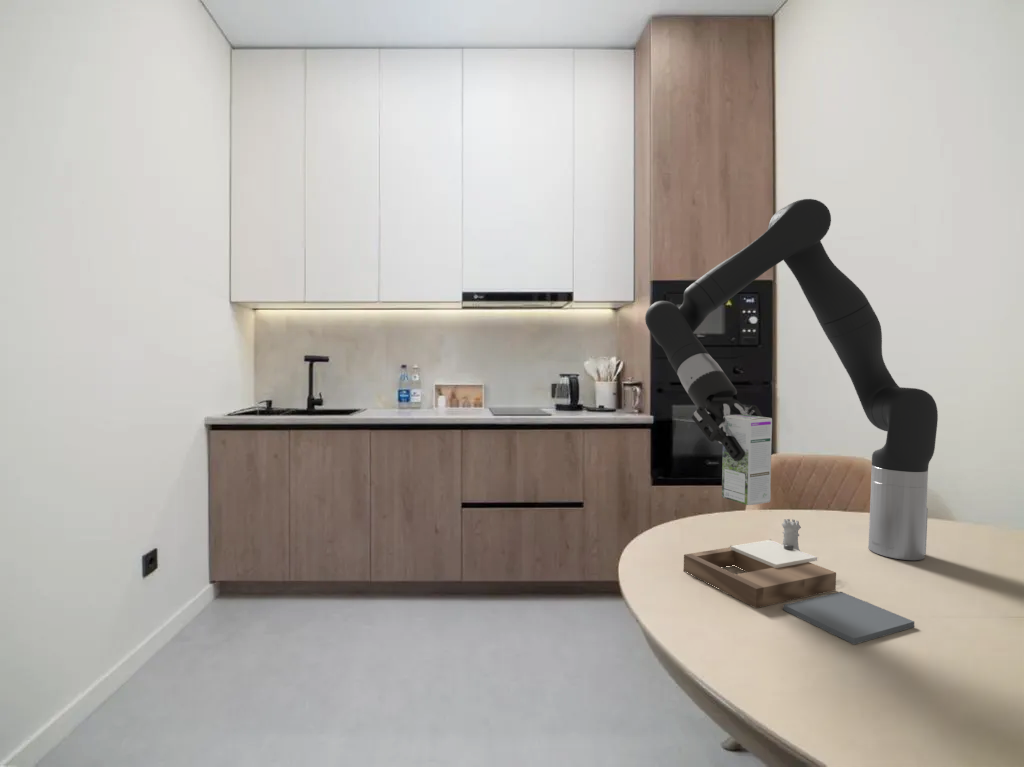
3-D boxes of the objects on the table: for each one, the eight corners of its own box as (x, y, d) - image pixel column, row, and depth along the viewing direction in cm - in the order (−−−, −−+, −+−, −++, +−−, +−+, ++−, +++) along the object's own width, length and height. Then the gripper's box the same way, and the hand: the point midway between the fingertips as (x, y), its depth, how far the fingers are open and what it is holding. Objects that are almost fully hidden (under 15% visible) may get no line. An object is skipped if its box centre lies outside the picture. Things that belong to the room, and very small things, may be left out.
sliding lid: (769, 542, 105) (769, 536, 105) (817, 560, 96) (817, 553, 96) (730, 549, 101) (730, 542, 101) (776, 568, 92) (776, 561, 92)
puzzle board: (757, 558, 105) (757, 542, 105) (835, 590, 91) (836, 572, 90) (683, 571, 98) (684, 554, 98) (755, 608, 83) (756, 588, 83)
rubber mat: (840, 596, 88) (841, 591, 88) (914, 627, 78) (914, 621, 78) (783, 609, 83) (783, 604, 83) (853, 644, 73) (854, 638, 73)
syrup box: (771, 502, 92) (774, 416, 92) (746, 506, 90) (749, 418, 89) (744, 494, 97) (746, 413, 97) (719, 498, 95) (721, 414, 94)
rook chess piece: (806, 568, 101) (808, 525, 100) (780, 565, 101) (781, 523, 101) (798, 559, 105) (800, 518, 105) (773, 557, 106) (775, 516, 105)
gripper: (685, 369, 96) (735, 446, 86) (746, 369, 102) (800, 441, 92) (665, 397, 102) (710, 472, 91) (724, 395, 107) (772, 467, 97)
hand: (755, 456), depth 91 cm, fingers closed on syrup box, 6 cm apart
